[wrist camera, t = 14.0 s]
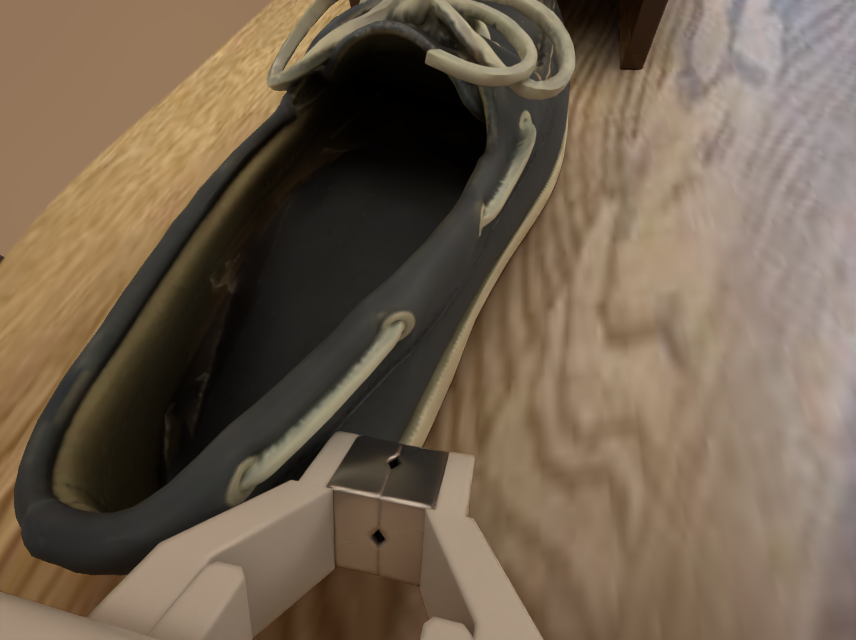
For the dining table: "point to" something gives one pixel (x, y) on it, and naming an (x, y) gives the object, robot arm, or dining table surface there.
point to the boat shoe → (308, 276)
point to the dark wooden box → (632, 29)
